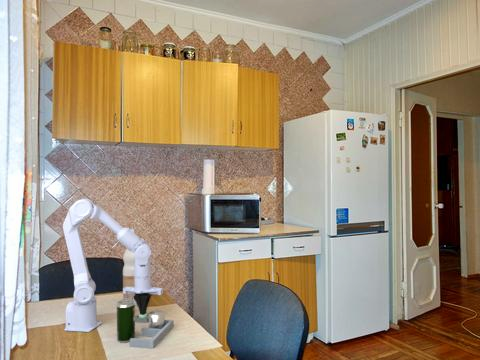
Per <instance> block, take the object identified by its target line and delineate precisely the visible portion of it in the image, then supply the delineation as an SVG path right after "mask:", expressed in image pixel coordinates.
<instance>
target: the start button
mask: <svg viewBox="0 0 480 360" xmlns="http://www.w3.org/2000/svg"><path fill="white" fill-rule="evenodd" d="M147 313H148V312H146V314H144V315H140V312H139V313H138V314H139V318H146V317H147Z"/></svg>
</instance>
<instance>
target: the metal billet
mask: <svg viewBox="0 0 480 360" xmlns="http://www.w3.org/2000/svg"><path fill="white" fill-rule="evenodd" d="M148 313H149V322H148V328H154V329H162V328H163V327H164V320H165V311H163V310H158V309H157V310H152V311H150V312H148Z"/></svg>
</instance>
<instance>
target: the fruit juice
mask: <svg viewBox="0 0 480 360" xmlns="http://www.w3.org/2000/svg"><path fill="white" fill-rule="evenodd" d="M135 234H136V235H137V236H139V237H140V238H141V234H137V233H135ZM125 248H126V247H125ZM122 259H123V263H124V265H123V268H122V289H123V288H125V287H135V281H134V264H135V256H134V252H132V251H129V250H128V249H127V248H126V249H125V251H124V253H123V255H122ZM134 296H135V294H134V293H126V294H123V293H122V297H123V298H122V300H125V299H132V300H134ZM134 304H135V307H138V305H137V303H136V301H135V300H134Z"/></svg>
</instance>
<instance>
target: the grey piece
mask: <svg viewBox="0 0 480 360" xmlns="http://www.w3.org/2000/svg"><path fill="white" fill-rule="evenodd" d="M173 327H174V319H164V327H163V328H162V329H154V328H149V327H142V328H141V330H140V331H141V337H152V338H131V339H130V342H129V348H143V349H154V348H155V347H156V346H157V345H158V344H159V343H160V342H161V340H163V338H165V336H167V334H168V333H169V332H170V331H171V330H172V329H173Z"/></svg>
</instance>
